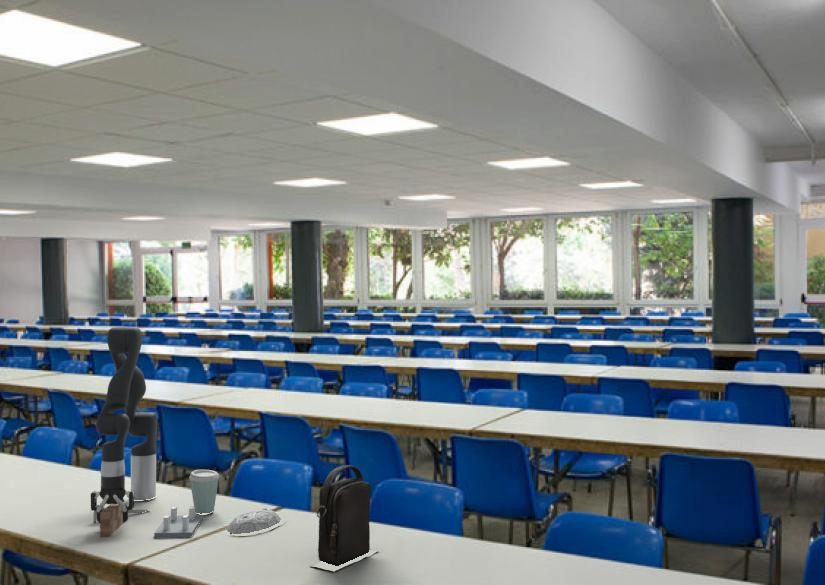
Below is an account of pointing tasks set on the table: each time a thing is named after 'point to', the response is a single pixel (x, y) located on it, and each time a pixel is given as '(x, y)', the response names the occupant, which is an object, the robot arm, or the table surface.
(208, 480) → the disposable coffee cup
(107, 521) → the cabinet door
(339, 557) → the shoulder bag
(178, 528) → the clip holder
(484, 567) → the table surface
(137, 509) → the caliper
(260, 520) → the oval brooch
